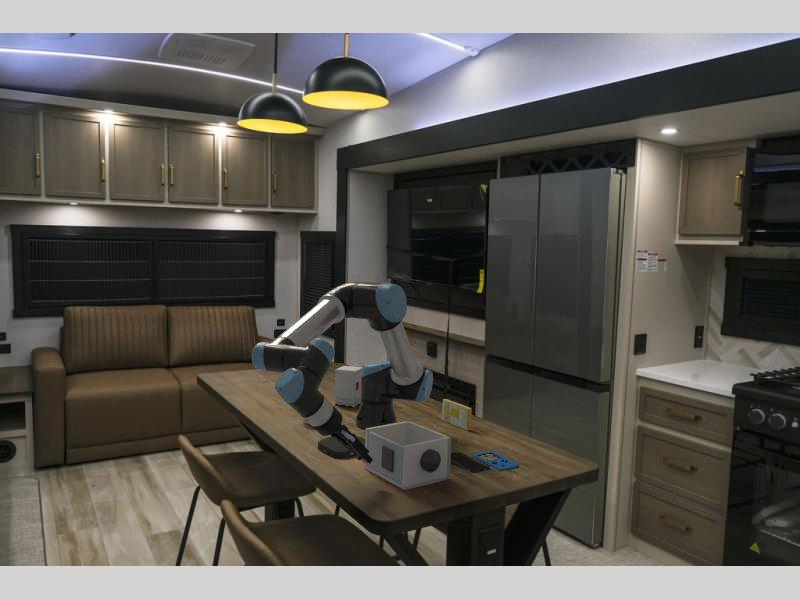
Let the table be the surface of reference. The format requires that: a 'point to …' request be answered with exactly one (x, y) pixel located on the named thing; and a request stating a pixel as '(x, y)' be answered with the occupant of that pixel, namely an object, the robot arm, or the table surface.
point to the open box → (417, 453)
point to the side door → (386, 456)
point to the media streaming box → (336, 447)
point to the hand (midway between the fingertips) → (375, 466)
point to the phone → (467, 462)
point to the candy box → (456, 414)
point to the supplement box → (348, 385)
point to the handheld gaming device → (497, 461)
